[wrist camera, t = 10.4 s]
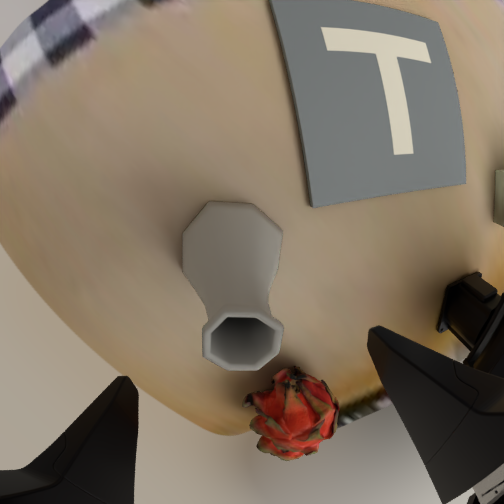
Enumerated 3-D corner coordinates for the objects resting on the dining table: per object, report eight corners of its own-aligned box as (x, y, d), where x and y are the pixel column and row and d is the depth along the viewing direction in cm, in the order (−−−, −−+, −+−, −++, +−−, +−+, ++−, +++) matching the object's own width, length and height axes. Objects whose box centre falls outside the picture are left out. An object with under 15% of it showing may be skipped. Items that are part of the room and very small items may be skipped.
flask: (167, 276, 19) (134, 376, 10) (201, 183, 17) (178, 223, 8) (257, 306, 21) (281, 409, 12) (299, 222, 19) (366, 293, 10)
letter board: (461, 182, 19) (466, 183, 18) (310, 206, 19) (313, 208, 18) (434, 23, 13) (438, 22, 12) (268, -1, 12) (270, -5, 12)
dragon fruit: (277, 412, 29) (272, 334, 26) (343, 428, 25) (355, 347, 22) (241, 460, 22) (222, 384, 19) (315, 485, 18) (327, 414, 15)
